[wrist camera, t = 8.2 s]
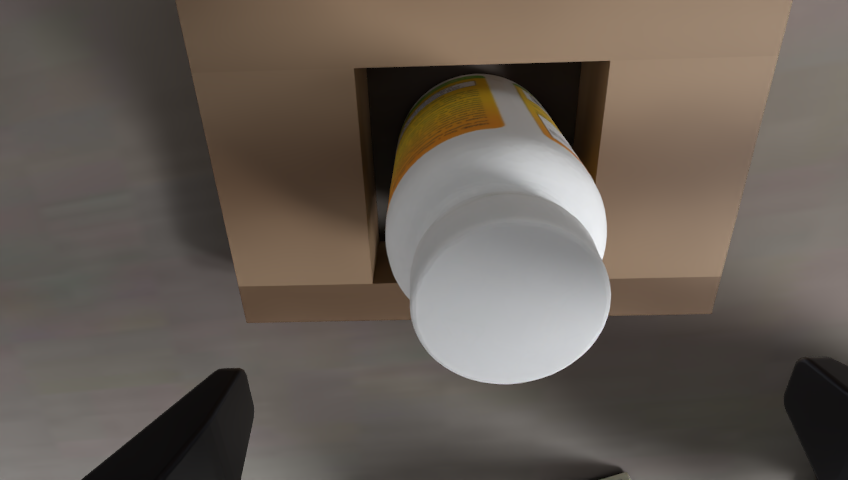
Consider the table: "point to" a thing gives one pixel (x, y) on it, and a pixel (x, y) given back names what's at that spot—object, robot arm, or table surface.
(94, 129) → the table surface
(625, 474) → the skincare box
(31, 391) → the table surface
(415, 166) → the supplement bottle
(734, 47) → the socket plate
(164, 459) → the robot arm
